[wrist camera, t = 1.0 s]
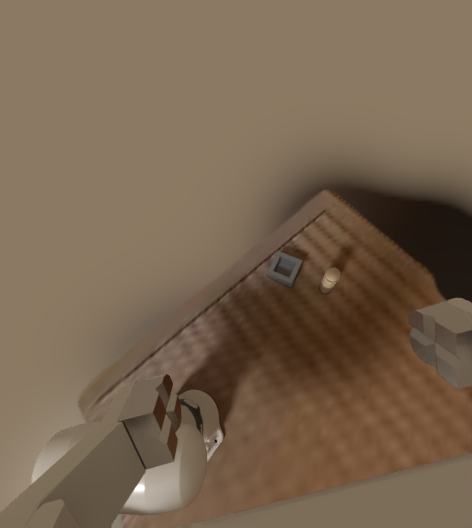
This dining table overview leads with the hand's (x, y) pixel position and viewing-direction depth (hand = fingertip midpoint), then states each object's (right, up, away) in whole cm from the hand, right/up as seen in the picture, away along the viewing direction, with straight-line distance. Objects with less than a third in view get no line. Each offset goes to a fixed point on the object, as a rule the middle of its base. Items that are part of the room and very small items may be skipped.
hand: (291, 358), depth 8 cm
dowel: (+25, -4, +67) cm, 72 cm away
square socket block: (+13, +1, +71) cm, 73 cm away
